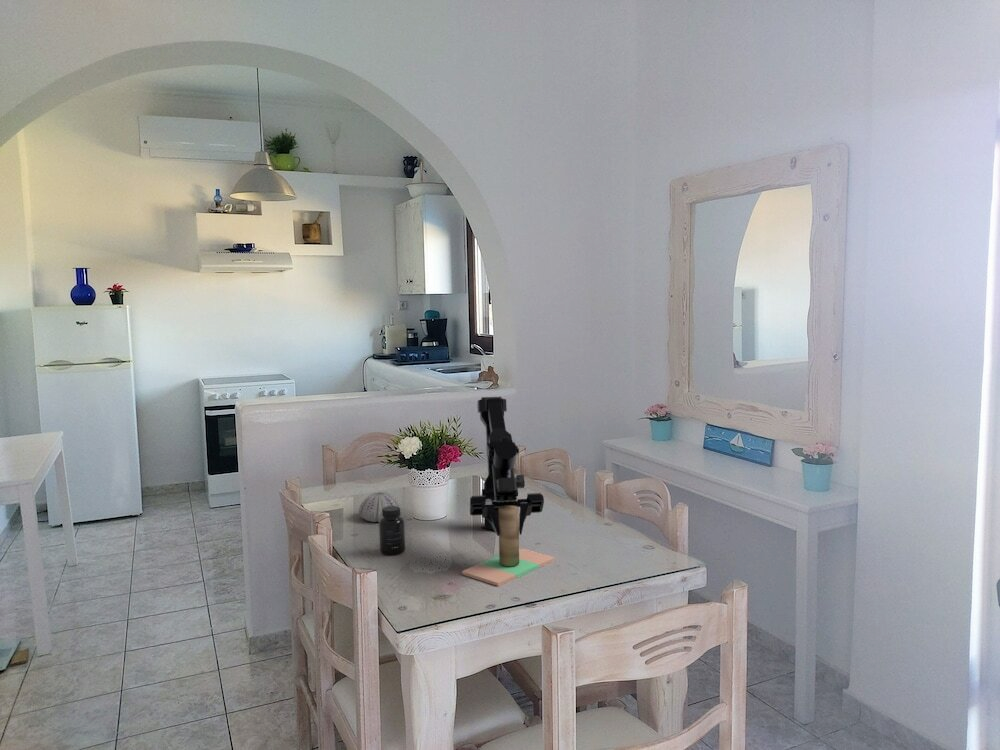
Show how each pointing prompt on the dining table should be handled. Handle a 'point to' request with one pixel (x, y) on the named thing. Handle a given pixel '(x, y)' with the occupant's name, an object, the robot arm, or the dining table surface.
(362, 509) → the sea urchin shell
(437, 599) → the dining table surface
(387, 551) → the supplement bottle
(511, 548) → the walnut peg
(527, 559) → the board
